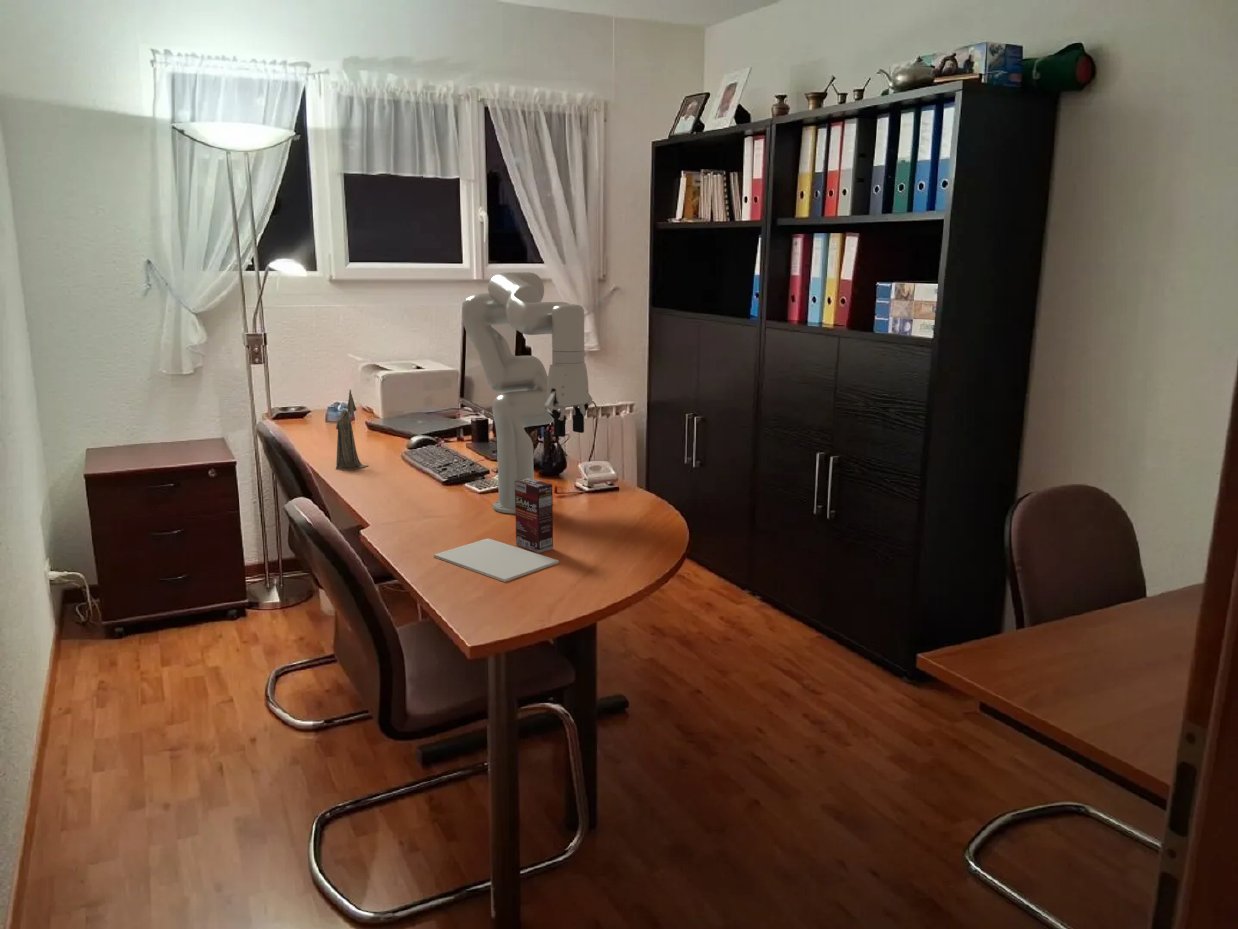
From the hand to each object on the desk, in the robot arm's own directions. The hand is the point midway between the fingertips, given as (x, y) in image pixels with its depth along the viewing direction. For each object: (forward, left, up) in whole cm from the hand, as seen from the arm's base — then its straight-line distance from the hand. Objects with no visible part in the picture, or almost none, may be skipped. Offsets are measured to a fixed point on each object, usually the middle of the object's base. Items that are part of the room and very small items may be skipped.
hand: (569, 433), depth 213 cm
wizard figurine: (-5, -103, -26) cm, 106 cm away
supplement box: (+12, 0, -26) cm, 28 cm away
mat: (+24, 0, -26) cm, 35 cm away
